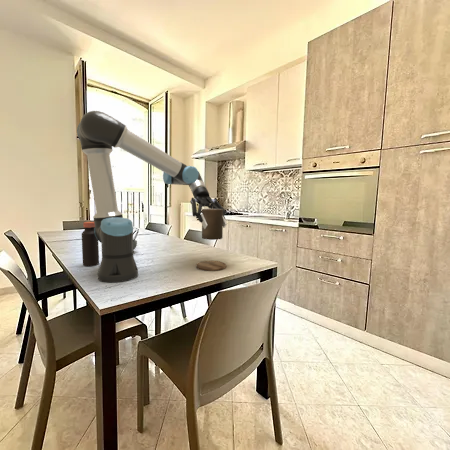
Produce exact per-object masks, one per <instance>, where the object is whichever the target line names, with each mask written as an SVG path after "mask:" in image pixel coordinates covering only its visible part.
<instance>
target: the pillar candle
mask: <svg viewBox="0 0 450 450" xmlns="http://www.w3.org/2000/svg"><path fill="white" fill-rule="evenodd" d="M201 214H203V216H204V218H205V220H206V222H207V227H206V229H204V228H203V225H202V224H201V239H202V240H210V241H211V240H222V239H223V236H224V235H223V231H224V230H223V209H213V206H212V209H211V208H202V210H201Z"/></svg>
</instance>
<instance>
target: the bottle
mask: <svg viewBox="0 0 450 450" xmlns="http://www.w3.org/2000/svg"><path fill="white" fill-rule="evenodd" d="M94 228H95V224H94V221H84V222H83V229H84V230H83V231H82V232H81V249H82V250H81V251H82V252H81V253H82V255H81V256H82V266H84V267H95V266H97V265H98V266H99V265H100V253H99V250H100V249H99V240H97V238H96V236H95V233H94V230H95V229H94Z"/></svg>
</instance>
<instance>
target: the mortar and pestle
mask: <svg viewBox="0 0 450 450" xmlns="http://www.w3.org/2000/svg"><path fill="white" fill-rule="evenodd" d="M137 245H138V241H137V240H136V239H133V254H134V253H135V249H136V248H137Z"/></svg>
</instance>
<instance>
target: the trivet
mask: <svg viewBox="0 0 450 450" xmlns="http://www.w3.org/2000/svg"><path fill="white" fill-rule="evenodd" d="M195 265H196V266H195V267H196V269H198V270H200V271H204V272H205V271H206V272H216V271H217V272H218V271H223V270H225V269H226V268H227V264H226V263H225V262H223V261H219V260H204V261H202V260H201V261H199V262H197V263H196V264H195Z"/></svg>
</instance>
